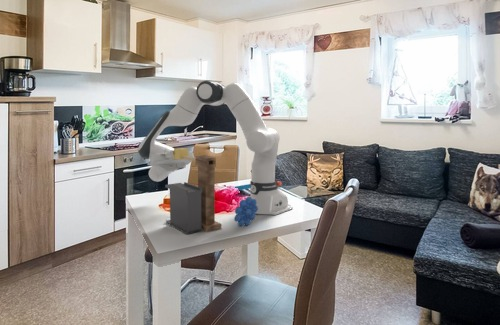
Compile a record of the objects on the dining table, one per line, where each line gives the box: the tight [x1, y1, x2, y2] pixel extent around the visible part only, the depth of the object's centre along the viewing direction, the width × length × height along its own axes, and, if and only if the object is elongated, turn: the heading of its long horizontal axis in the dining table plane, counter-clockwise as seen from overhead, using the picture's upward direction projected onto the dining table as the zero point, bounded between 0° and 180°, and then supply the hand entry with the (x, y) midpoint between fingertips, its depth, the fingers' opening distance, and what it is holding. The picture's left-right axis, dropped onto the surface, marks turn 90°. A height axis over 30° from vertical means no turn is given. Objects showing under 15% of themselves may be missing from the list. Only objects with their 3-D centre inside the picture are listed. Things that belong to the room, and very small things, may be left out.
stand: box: [194, 155, 222, 233], centre depth 147 cm, size 7×12×29 cm, turn 39°
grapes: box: [234, 196, 258, 227], centre depth 151 cm, size 12×7×12 cm, turn 128°
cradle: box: [164, 182, 204, 235], centre depth 147 cm, size 7×18×17 cm, turn 39°
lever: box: [234, 183, 251, 194], centre depth 208 cm, size 7×7×18 cm
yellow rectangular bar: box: [174, 147, 195, 162], centre depth 155 cm, size 4×17×4 cm, turn 39°
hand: (179, 151), depth 161 cm, fingers closed on yellow rectangular bar, 4 cm apart
